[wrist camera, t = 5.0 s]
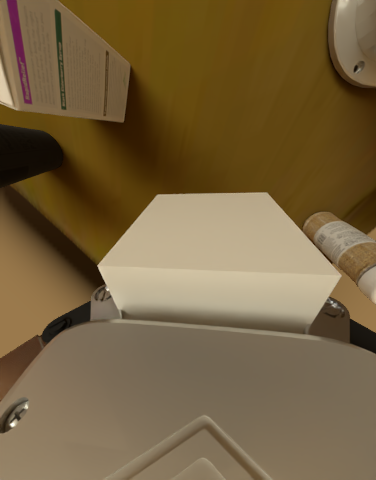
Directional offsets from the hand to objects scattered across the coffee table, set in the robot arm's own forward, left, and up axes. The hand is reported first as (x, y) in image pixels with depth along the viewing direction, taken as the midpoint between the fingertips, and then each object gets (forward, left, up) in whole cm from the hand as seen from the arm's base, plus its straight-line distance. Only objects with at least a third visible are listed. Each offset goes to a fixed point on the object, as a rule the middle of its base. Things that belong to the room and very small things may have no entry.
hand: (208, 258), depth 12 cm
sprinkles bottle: (-17, +5, -16) cm, 24 cm away
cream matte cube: (0, 0, -3) cm, 3 cm away
